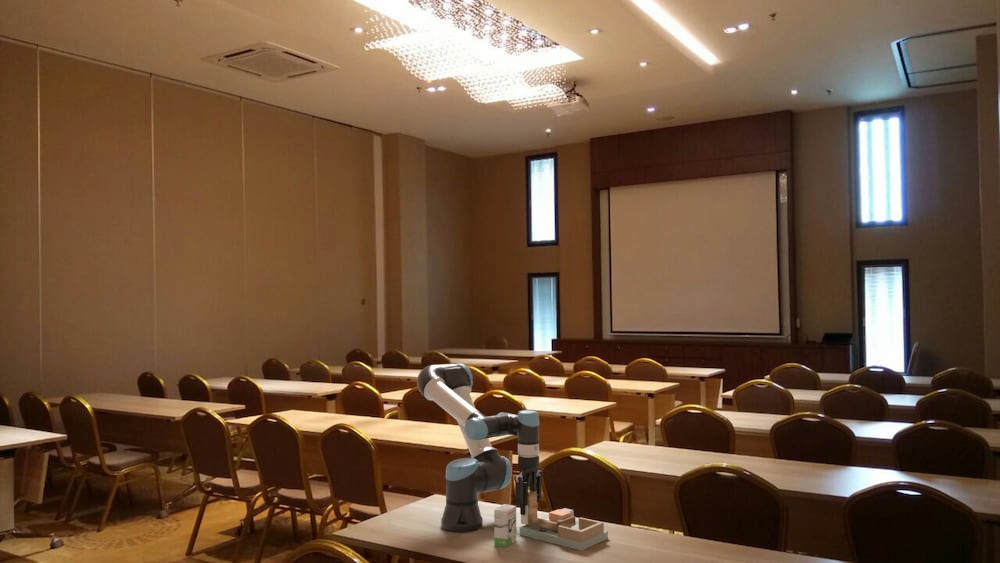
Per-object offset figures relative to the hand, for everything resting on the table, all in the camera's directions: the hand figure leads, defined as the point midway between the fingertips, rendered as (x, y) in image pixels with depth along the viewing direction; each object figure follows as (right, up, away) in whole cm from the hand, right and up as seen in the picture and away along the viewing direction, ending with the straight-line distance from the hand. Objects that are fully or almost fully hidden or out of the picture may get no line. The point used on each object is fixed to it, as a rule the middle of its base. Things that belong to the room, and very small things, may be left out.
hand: (528, 522), depth 255 cm
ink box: (-8, -4, -11) cm, 14 cm away
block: (+11, -1, -4) cm, 11 cm away
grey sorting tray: (+12, -3, -5) cm, 13 cm away
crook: (+6, 0, -2) cm, 7 cm away
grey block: (+14, -4, +14) cm, 20 cm away
